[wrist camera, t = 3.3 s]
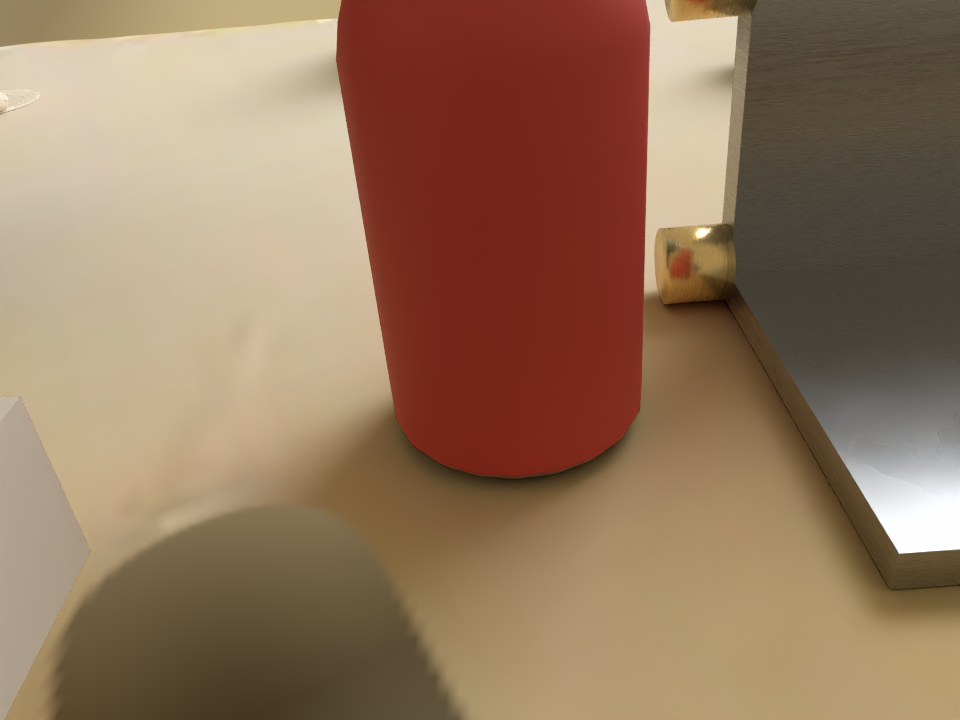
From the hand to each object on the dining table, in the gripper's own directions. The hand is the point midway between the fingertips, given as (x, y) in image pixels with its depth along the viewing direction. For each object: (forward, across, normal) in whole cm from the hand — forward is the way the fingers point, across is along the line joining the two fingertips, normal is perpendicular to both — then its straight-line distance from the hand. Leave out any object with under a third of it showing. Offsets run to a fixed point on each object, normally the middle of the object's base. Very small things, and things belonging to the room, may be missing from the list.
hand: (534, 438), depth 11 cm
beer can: (+10, 0, -7) cm, 12 cm away
